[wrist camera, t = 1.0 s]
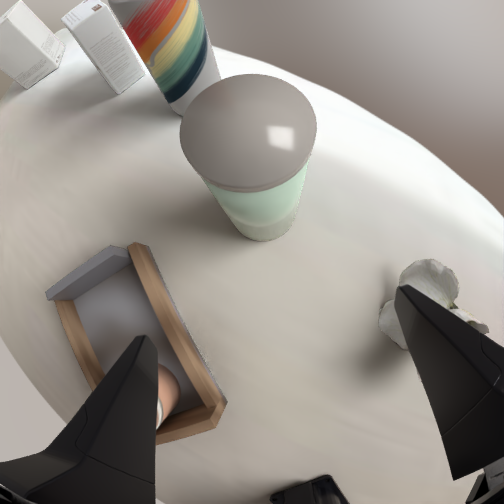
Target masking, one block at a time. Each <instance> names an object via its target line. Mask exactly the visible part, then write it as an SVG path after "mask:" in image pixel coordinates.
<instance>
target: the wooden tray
mask: <svg viewBox="0 0 504 504" xmlns="http://www.w3.org/2000/svg"><path fill="white" fill-rule="evenodd" d="M127 248H128V250H129V253H130V255H131V258H132V260H133V263H131V264H129V265H128V266H126V267H124V268H123V269H121V270H120V271H118V272H116V273H115V274H113V275H111V276H110V277H108V278H107V279H105V280H104V281H102V282H100V283H99V284H97V285H96V286H94V287H93V288H91V289H89V290H88V291H86V292H85V293H83V294H82V295H80V296H79V297H77V298H76V299H74V300H54V301H55V304H56V307H57V310H58V313H59V316H60V319H61V321H62V324H63V327H64V329H65V332H66V334H67V337H68V339H69V342H70V344H71V347H72V349H73V351H74V354H75V356H76V358H77V360H78V362H79V365H80V367H81V369H82V371H83V373H84V375H85V377H86V379H87V381H88V383H89V385H90V387H91V389H92V391H94V389H95V388H96V387H97V385H98V384H99V383H100V381H101V380H102V379H103V377H104V376H105V375H106V374H107V372H108V371H109V370H110V368H111V367H112V366H113V365H114V363H115V362H116V361H117V359H118V358H119V357H120V356H121V354H122V353H123V352H124V350H125V349H126V348H127V347H128V345H129V344H130V343H131V342H132V340H133V339H134V338H135V337H136V336H137V335H144V334H146V335H148V336H149V337H150V339H151V340H152V342H153V343H154V345H155V346H156V348H157V350H158V363H159V364H161V365H163V366H165V367H167V368H168V369H169V370H170V371H171V372H172V373H173V374H174V375H175V377H176V378H177V380H178V382H179V385H180V389H181V398H180V401H179V403H178V405H177V406H176V407H175V409H174V410H173V411H172V412H171V413H170V414H169V415H168V416H167V417H166V419H165V420H164V421H163V422H162V423H161V425H160V426H159V427H158V428H157V429H156V445H159V444H163V443H167V442H171V441H175V440H178V439H182V438H185V437H189V436H192V435H195V434H198V433H202V432H205V431H208V430H211V429H214V428H216V426H217V424H218V422H219V420H220V418H221V415H222V413H223V411H224V409H225V407H226V404H227V402H228V401H227V400H226V398H225V397H224V395H223V393H222V392H221V390H220V388H219V386H218V385H217V383H216V381H215V380H214V378H213V376H212V374H211V373H210V371H209V369H208V367H207V365H206V364H205V362H204V360H203V358H202V356H201V355H200V353H199V351H198V349H197V347H196V345H195V343H194V342H193V340H192V338H191V336H190V334H189V332H188V330H187V328H186V326H185V324H184V322H183V320H182V318H181V316H180V314H179V312H178V310H177V308H176V306H175V304H174V302H173V300H172V298H171V296H170V293H169V291H168V289H167V287H166V285H165V283H164V281H163V278H162V276H161V274H160V272H159V269H158V267H157V265H156V263H155V260H154V258H153V256H152V253H151V251H150V249H149V247H148V246H145V245H142V244H139V243H136V242H134V243H133V244H131V245H129V246H128V247H127Z"/></svg>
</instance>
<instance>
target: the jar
mask: <svg viewBox="0 0 504 504" xmlns="http://www.w3.org/2000/svg"><path fill="white" fill-rule="evenodd" d="M158 380H159V391H158V406H157V423H156V429H157V428H158V427H159V426H160V425H161V423H162V422H163V421H164V420H165V419H166V417H167V416H168V415H169V414H170V413H171V412H172V411H173V410H174V409H175V407H176V406H177V405H178V403H179V401H180V398H181V389H180V385H179V382H178V380H177V378H176V377H175V375H174V374H173V373H172V372H171V371H170V370H169V369H168V368H167V367H165V366H163V365H161V364H159V363H158Z"/></svg>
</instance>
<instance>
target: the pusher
mask: <svg viewBox="0 0 504 504" xmlns="http://www.w3.org/2000/svg"><path fill="white" fill-rule="evenodd" d="M131 263H133V260H132V258H131V255H130V253H129V250H126V249H122V248H119V247H115V246H111V245H110V246H108V247H107V248H105V249H104V250H103V251H101V252H100V253H98V254H97V255H95V256H94V257H92V258H91V259H89V260H88V261H87V262H85V263H84V264H82V265H81V266H79V267H78V268H77V269H75V270H74V271H72V272H71V273H70V274H68V275H67V276H66V277H64V278H63V279H61V280H60V281H59V282H57V283H56V284H55V285H53V286H52V287H51V288H50V289H48V290H47V291H46V292H45V293H46V296H47V300H74V299H76V298H77V297H79V296H80V295H82V294H83V293H85V292H86V291H88V290H89V289H91V288H93V287H94V286H96V285H97V284H99V283H100V282H102V281H104V280H105V279H107V278H108V277H110V276H111V275H113V274H115V273H116V272H118V271H120V270H121V269H123V268H124V267H126V266H128V265H129V264H131Z"/></svg>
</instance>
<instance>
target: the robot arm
mask: <svg viewBox="0 0 504 504" xmlns="http://www.w3.org/2000/svg"><path fill="white" fill-rule="evenodd" d="M394 308H395V311H396V314H397V317H398V320H399V323H400V326H401V329H402V332H403V335H404V338H405V341H406V344H407V347H408V349H409V352H410V354H411V356H412V359H413V361H414V363H415V366H416V368H417V371H418V373H419V376H420V378H421V381H422V383H423V386H424V388H425V391H426V394H427V396H428V399H429V402H430V405H431V408H432V410H433V413H434V416H435V419H436V422H437V425H438V428H439V431H440V434H441V438H442V441H443V445H444V448H445V452H446V455H447V459H448V462H449V466H450V470H451V474H452V478H453V481H454V480H457V479H459V478H462V477H464V476H466V475H469V474H471V473H473V472H475V471H478V470H480V469H482V468H483V469H484V472H483V473H482V474H480V475H479V476H478V477H477V479H476V482H475V484H474V486H473V488H472V490H471V492H470V494H469V496H468V498H467V500H466V502H465V503H466V504H504V347H502V346H500V345H499V344H497V343H496V342H494V341H493V340H491V339H490V338H488V337H487V336H486V335H484V334H483V333H481V332H479V331H478V330H477V329H476V328H474V327H473V326H471V325H470V324H468V323H467V322H465V321H464V320H463V319H461V318H460V317H458V316H457V315H455V314H454V313H452V312H451V311H449V310H448V309H446V308H445V307H443V306H442V305H440V304H439V303H437V302H436V301H434V300H433V299H431V298H429V297H428V296H426V295H425V294H423V293H422V292H420V291H419V290H417V289H415V288H414V287H412V286H411V285H409V284H405V285H401V286H398V287H397V290H396V295H395V300H394ZM158 391H159V380H158V350H157V348H156V346H155V345H154V343H153V342H152V340H151V339H150V337H149V336H148V335H146V334H144V335H137V336H136V337H135V338H134V339H133V340H132V342H131V343H130V344H129V345H128V347H127V348H126V349H125V350H124V352H123V353H122V354H121V356H120V357H119V358H118V359H117V361H116V362H115V363H114V365H113V366H112V367H111V368H110V370H109V371H108V372H107V374H106V375H105V376H104V377H103V379H102V380H101V381H100V383H99V384H98V385H97V387H96V388H95V389H94V391H93V392H92V393H91V395H90V396H89V397H88V399H87V400H86V401H85V404H83V405H82V407H81V408H80V409H79V411H78V412H77V413H76V415H75V416H74V417H73V418H72V420H71V421H70V422H69V423H68V424H67V426H66V427H65V428H64V429H63V430H62V431H61V433H60V434H59V435H58V436H57V437H56V438H55V439H54V440H53V442H52V443H51V444H50V445H49V446H48V447H47V448H46V449H45V450H43V451H41V452H39V453H37V454H33V455H30V456H26V457H22V458H19V459H15V460H11V461H6V462H0V484H2V485H3V486H5V487H6V488H5V487H3V486H1V485H0V504H155V448H156V423H157V406H158ZM326 479H328V480H326ZM273 498H276V499H273ZM270 501H271V502H272V504H350V503H349V502H348V500H347V499H346V497H345V496H344V494H343V493H342V491H341V490H340V488H339V487H338V485H337V484H336V482H335V481H334V479H333V478H332V476H331V475H325V476H323V477H320V478H318V479H316V480H313V481H310V482H308V483H305V484H303V485H300V486H297V487H294V488H291V489H288V490H285V491H282V492H279V493H276V494H273V495H271V496H270Z"/></svg>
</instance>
